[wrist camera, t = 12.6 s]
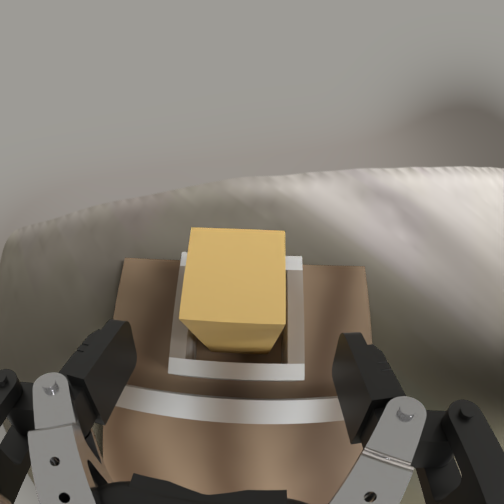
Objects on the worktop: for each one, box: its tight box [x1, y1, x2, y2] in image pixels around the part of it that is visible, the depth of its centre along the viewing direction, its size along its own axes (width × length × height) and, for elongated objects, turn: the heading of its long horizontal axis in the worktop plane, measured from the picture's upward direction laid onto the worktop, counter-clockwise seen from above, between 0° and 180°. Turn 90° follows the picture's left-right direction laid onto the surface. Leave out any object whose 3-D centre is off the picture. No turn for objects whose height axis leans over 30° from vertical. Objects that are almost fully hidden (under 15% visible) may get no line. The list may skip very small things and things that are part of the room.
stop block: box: [179, 228, 286, 354], centre depth 16 cm, size 4×4×10 cm
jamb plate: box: [103, 252, 372, 504], centre depth 17 cm, size 20×20×4 cm
